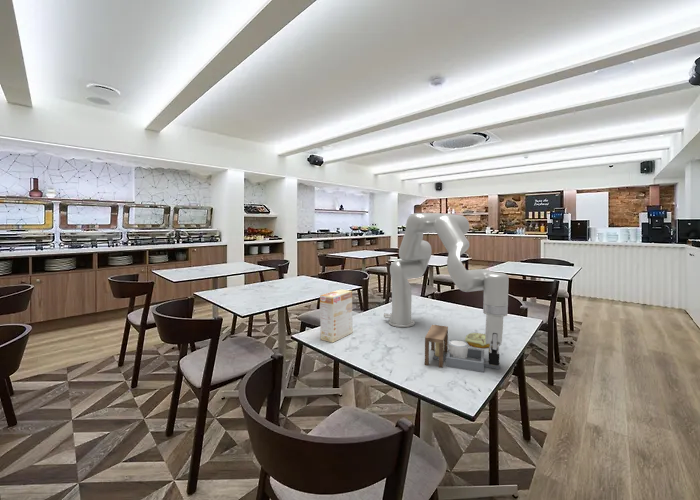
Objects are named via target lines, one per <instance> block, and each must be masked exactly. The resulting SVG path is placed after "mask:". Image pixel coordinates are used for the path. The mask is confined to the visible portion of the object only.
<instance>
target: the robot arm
mask: <svg viewBox="0 0 700 500" xmlns="http://www.w3.org/2000/svg"><path fill="white" fill-rule="evenodd" d="M469 230H470V223H469V220H468V219H467V217H465V216H464V215H462V214H461V215H460V214H450V213H435V212H434V213H429V212H427V213H426V212H425V213H424V212H415V213H412V214H410V215H409V216H408V217H407V220H406V224H405V231H404V235H403V237H402V240H401V242H400V245H399V249H398V256H399V258H400V259H397V260H395V261H394V260H393V262H392V263H391V264H390V265H389V273H390V280H391V313H385V312H384V314H383V318H384V319H388V324H389V325H390V326H392V327H396V328H408V327H409V328H410V327H413V326H414V325H415V320H413V319H412V302H413V301H412V295H413V294H412V286H411V284H410V282H409V280H411V279H419V278H421V277H423V275H424V274H425V272H426V270H427V267H428V264H429V262H430V259H431V257H432V252H433V251H432V244H430V243H429V241H427V240H424V233H425V234H437V236H438V238H439V239H440V241H441V242H442V245H443V247H445V249H446V252H447V253H448V255H447V260H446V261H447V262H446V265H447V272H448V274H449V277H450V278H451V280H452V282H453V283H454V285H455V286H456V287H457V289H459V291H462V292H465V293H470V292H477V291H478V292H479V291H480V292H481V291H483V308H482V309H483V310H482V311H483V314H484V315H486V316H485V333H484V334H485V343H486V344H490V352H489V351H488V361H489V364H491V365H499V363H500V347H501V346H502V343H503V333H504V331H503V330H504V317H507V316H508V311H509V310H508V307H509V286H510V285H509V282H510V281H509V276H508V274H507V273H504V272H496V271H495V272H494V271H493V270H489V269H486V268H481V269H479V268H478V269H469V270H468V269H467V268H466V267H465V266H464V264H463V261H462V258H461V256H462V255H463V254H464V253H465V252H467V251H468V250H469V248H470V241H469V240H468V239H467V237H466V236H465V235H466V234H467V233H468V232H469ZM492 346H493V347H492ZM491 350H492V351H491Z"/></svg>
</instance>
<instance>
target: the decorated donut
mask: <svg viewBox="0 0 700 500" xmlns="http://www.w3.org/2000/svg"><path fill="white" fill-rule="evenodd" d="M464 341H465V342H467V343H468V344H469V345H468V346H470V347H472V348H476V349H486V348H487V349H489V347H490V344H486V343H485V333H478V332H471V333H468V334H467V335H466V336H465V338H464Z"/></svg>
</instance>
